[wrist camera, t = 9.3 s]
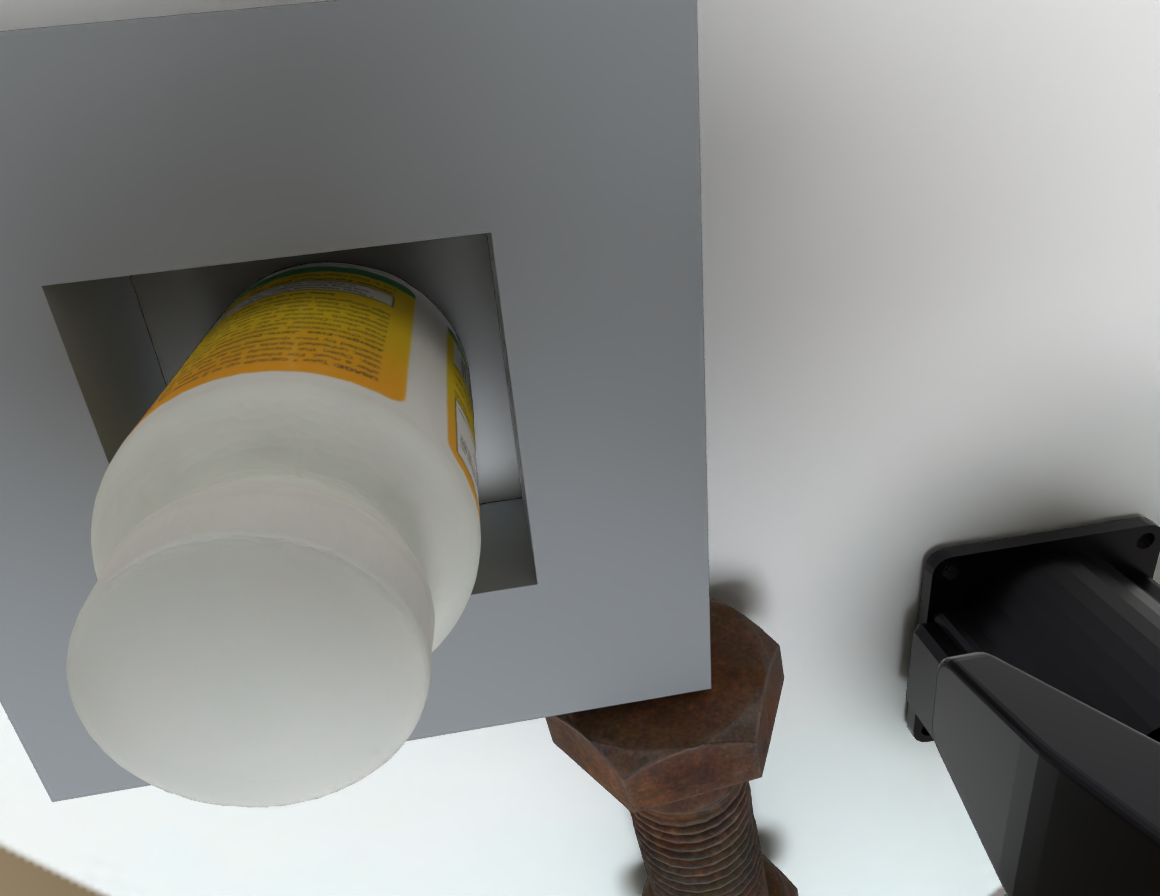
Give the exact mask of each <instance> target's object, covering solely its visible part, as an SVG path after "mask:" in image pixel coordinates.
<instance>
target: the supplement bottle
mask: <svg viewBox="0 0 1160 896" xmlns="http://www.w3.org/2000/svg"><path fill="white" fill-rule="evenodd" d="M91 548H92V557H93V563H94V568H95V572H96V576H97V579H98V580H97V582H96V584H95V586H94V587H93V589H92V591H91V593H90V594H89V596H88V598H87V600H86V601H85V603H84V605H83V607H82V608H81V610H80V612H79V614H78V617H77V619H76V622H75V625H74V628H73V631H72V634H71V638H70V641H69V647H68V654H67V662H66V675H67V682H68V688H69V694H70V697H71V700H72V702H73V705H74V708H75V710H76V712H77V714H78V716H79V718H80V720H81V722H82V724H83V725H84V727H85V729H86V730H87V732H88V734H89V735H90V736H91V737H92V739H93V740H94V741H95V742H96V743H97V744H98V745H99V747H100V748H101V749H102V750H103V751H104V752H105V753H106V754H107V755H108V756H109V757H110V758H112V759H113V760H114V761H115V762H116V763H117V764H118V765H120V766H121V767H122V768H124V769H125V770H127V771H128V772H130V773H131V774H133V775H135V776H136V777H138V778H140V779H142V780H143V781H145V782H147V783H149V784H151V785H153V786H155V787H157V788H160V789H162V790H164V791H166V792H169V793H172V794H176V795H179V796H182V797H185V798H188V799H191V800H194V801H199V802H204V803H209V804H216V805H224V806H240V807H271V806H284V805H290V804H295V803H299V802H304V801H308V800H314V799H318V798H321V797H323V796H325V795H328V794H331V793H334V792H337V791H339V790H341V789H343V788H345V787H347V786H350V785H352V784H354V783H356V782H357V781H359V780H361V779H363V778H364V777H366V776H367V775H369V774H370V773H372V772H373V771H375V770H376V769H378V768H379V767H381V766H382V765H383V764H385V763H386V762H387V761H388V760H389V759H390V758H391V757H392V756H393V755H394V754H395V753H396V752H397V751H398V750H399V749H400V748H401V747H402V745H403V744H404V743H405V742H406V740H407V739H408V738H409V737H410V735H411V734H412V732H413V730H414V729H415V727H416V725H417V723H418V721H419V720H420V717H421V715H422V712H423V709H424V707H425V704H426V701H427V697H428V694H429V688H430V680H431V666H432V652H433V651H434V650H435V649H436V648H437V647H438V646H439V645H440V644H441V643H442V641H443V640H444V639H445V638H446V637H447V635H448V634H449V633H450V631H451V630H452V629H453V627H454V626H455V624H456V623H457V621H458V620H459V618H460V616H461V614H462V613H463V611H464V609H465V607H466V604H467V602H468V600H469V597H470V595H471V593H472V590H473V587H474V584H475V581H476V576H477V571H478V565H479V558H480V549H481V528H480V508H479V494H478V477H477V464H476V449H475V433H474V413H473V402H472V394H471V384H470V375H469V369H468V364H467V361H466V357H465V353H464V350H463V348H462V346H461V343H460V341H459V339H458V337H457V335H456V333H455V331H454V329H453V328H452V326H451V324H450V323H449V322H448V320H447V319H446V318H445V316H444V315H443V314H442V312H441V311H440V310H439V309H438V308H437V307H436V306H435V305H434V304H433V303H432V302H431V301H430V300H429V299H428V298H427V297H426V296H425V295H423V294H422V293H421V292H419V291H418V290H417V289H415V288H414V287H412V286H411V285H409V284H408V283H406V282H404V281H403V280H401V279H399V278H397V277H395V276H393V275H391V274H388V273H386V272H383V271H380V270H376V269H373V268H368V267H363V266H360V265H352V264H345V263H329V262H322V263H309V264H304V265H298V266H294V267H290V268H287V269H283V270H281V271H278V272H276V273H273V274H271V275H269V276H267V277H265V278H263V279H262V280H260V281H258V282H256V283H255V284H253V285H252V286H251V287H249V288H248V289H247V290H245V291H244V292H243V293H242V294H241V295H240V296H239V297H238V298H236V300H235V301H234V302H233V303H232V304H231V305H230V306H229V307H228V308H227V310H226V311H225V313H224V314H223V315H222V316H221V317H220V318H219V319H218V321H217V322H216V323H215V324H214V326H213V327H212V328H211V329H210V331H209V332H208V333H207V334H206V335H205V337H204V338H203V339H202V341H201V342H200V344H199V345H198V346H197V347H196V348H195V350H194V351H193V352H192V354H191V355H190V356H189V358H188V359H187V360H186V362H185V363H184V364H183V366H182V367H181V368H180V370H179V371H178V372H177V374H176V375H175V376H174V377H173V379H172V380H171V381H170V383H169V384H168V386H167V387H166V388H165V389H164V391H163V392H162V393H161V394H160V396H159V397H158V398H157V400H156V401H155V402H154V404H153V405H152V406H151V407H150V409H149V410H148V411H147V413H146V414H145V415H144V416H143V418H142V419H141V420H140V421H139V423H138V424H137V425H136V426H135V428H134V429H133V430H132V431H131V433H130V434H129V435H128V437H127V438H126V439H125V440H124V442H123V443H122V445H121V446H120V448H119V450H118V451H117V453H116V454H115V456H114V457H113V459H112V461H111V462H110V464H109V466H108V468H107V470H106V472H105V474H104V476H103V479H102V482H101V484H100V487H99V490H98V493H97V496H96V499H95V504H94V509H93V515H92V525H91Z"/></svg>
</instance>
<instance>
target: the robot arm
mask: <svg viewBox="0 0 1160 896" xmlns="http://www.w3.org/2000/svg"><path fill="white" fill-rule="evenodd" d="M1159 552H1160V527H1159V526H1158V525H1156V524H1155V523H1154V522H1152V521H1151V520H1149V519H1147V518H1145V517H1138V518H1131V519H1125V520H1119V521H1113V522H1106V523H1100V524H1094V525H1088V526H1082V527H1075V528H1069V529H1063V530H1057V531H1051V532H1044V533H1038V534H1032V535H1026V536H1019V537H1013V538H1007V539H1001V540H995V541H988V542H982V543H976V544H970V545H963V546H957V547H951V548H945V549H942V550H939V551H937V552H935V553H934V554H932V555H931V556H930V557H929V559H928V560H927V561H926V564H925V568H924V576H923V585H922V594H921V602H920V611H919V619H918V625H917V627H916V629H915V631H914V633H913V639H912V648H911V656H910V665H909V674H908V683H907V691H906V700H907V702H908V703H909V705H908V713H907V727H908V729H909V730H910V732H911V733H912V735H913V736H914V737H915V739H916V740H918V741H921V742H929V741H935V743H936V746H937V749H938V751H939V753H940V755H941V757H942V759H943V762H944V764H945V766H946V768H947V770H948V772H949V774H950V776H951V778H952V781H953V783H954V785H955V787H956V789H957V791H958V793H959V795H960V797H961V800H962V802H963V804H964V806H965V808H966V810H967V812H968V814H969V816H970V819H971V821H972V823H973V825H974V827H975V829H976V831H977V833H978V835H979V838H980V840H981V842H982V844H983V846H984V848H985V850H986V852H987V854H988V857H989V859H990V861H991V863H992V865H993V867H994V869H995V871H996V873H997V876H998V878H999V880H1000V882H1001V884H1002V886H1003V887H1004V890H1005V891H1006V894H1005V895H1004V896H1160V585H1159V584H1158V583H1157V582H1155V581H1154V580H1153V579H1152V578H1153V575H1154V571H1155V567H1156V563H1157V559H1158V556H1159ZM949 565H951V566H950V568H948V569H947V570H946V571H944V572H942V571H943V570H944V569H945V568H946V567H947V566H949Z"/></svg>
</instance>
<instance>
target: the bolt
mask: <svg viewBox="0 0 1160 896" xmlns="http://www.w3.org/2000/svg"><path fill="white" fill-rule="evenodd" d="M709 606H710V654H711V689H706V690H700V691H694V692H689V693H683V694H677V695H671V696H665V697H660V698H654V699H648V700H642V701H636V702H631V703H625V704H619V705H613V706H607V707H601V708H596V709H590V710H584V711H578V712H572V713H567V714H561V715H555V716H549V717H545V718H546V721H547V724H548V727H549V730H550V734H551V737H552V740H553V742H554V743H555V744H556V745H557V746H558V747H559V748H560V749H561V750H563V751H564V752H565V753H566V754H567V755H568V756H569V757H570V758H571V759H573V760H574V761H575V762H576V763H577V764H578V765H579V766H580V767H582V768H583V769H584V770H585V771H586V772H587V773H588V774H589V775H590V776H592V777H593V778H594V779H595V780H596V781H597V782H598V783H599V784H601V785H602V786H603V787H604V788H605V789H606V790H607V791H608V792H609V793H611V794H612V795H613V796H614V797H615V798H616V799H617V800H618V801H619V802H621V803H622V804H623V805H624V806H625V807H626V808H627V809H628V810H629V811H630V813H631V816H632V819H633V826H634V829H635V834H636V836H637V840H638V843H639V847H640V850H641V854H642V858H643V860H644V864H645V867H646V871H647V874H648V879H647V881H646V884H645V886H644V889H643V893H642V896H798V890H797V888H796V887H795V886H794V885H793V883H792V882H791V881H790V880H789V879H788V878H787V877H786V876H785V875H784V874H783V873H782V872H781V871H780V870H779V869H778V868H777V867H776V866H775V865H774V864H773V863H772V862H771V861H770V860H768V859H767V858H766V857H765V856H764V855H763V854H762V852H761V849H760V843H759V836H758V830H757V826H756V821H755V818H754V815H753V808H752V798H751V789H750V785H749V781H750V780H753V779H757V778H760V777H762V774H763V770H764V766H765V761H766V757H767V753H768V748H769V744H770V740H771V735H772V731H773V726H774V722H775V717H776V713H777V708H778V704H779V699H780V695H781V690H782V686H783V681H784V674H783V667H782V660H781V652H780V645H778V644H777V643H776V642H775V641H774V640H773V639H772V638H771V637H770V636H769V635H768V634H766V633H765V632H764V631H763V630H762V629H761V628H760V627H759V626H757V625H756V624H755V623H753V622H752V621H751V620H749V619H748V618H747V617H745V616H744V615H743V614H741V613H739V612H738V611H736V610H734V609H733V608H731V607H729V606H727V605H725V604H723V603H721V602H718V601H715V600H712V599H709Z"/></svg>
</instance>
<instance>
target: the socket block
mask: <svg viewBox="0 0 1160 896" xmlns="http://www.w3.org/2000/svg"><path fill="white" fill-rule="evenodd" d="M483 233H487V237H488V244H489V252H490V259H491V267H492V274H493V281H494V289H495V296H496V304H497V311H498V319H499V326H500V334H501V341H502V349H503V356H504V363H505V371H506V378H507V386H508V393H509V401H510V408H511V416H512V423H513V431H514V438H515V446H516V453H517V460H518V468H519V475H520V483H521V490H522V498H521V499H514V500H507V501H500V502H494V503H487V504H480V505H479V508H480V528H481V549H480V558H479V565H478V571H477V576H476V581H475V584H474V587H473V590H472V593H471V595H470V597H469V600H468V602H467V604H466V607H465V609H464V611H463V613H462V614H461V616H460V618H459V620H458V621H457V623H456V624H455V626H454V627H453V629H452V630H451V631H450V633H449V634H448V635H447V637H446V638H445V639H444V640H443V641H442V643H441V644H440V645H439V646H438V647H437V648H436V649H435V650H434V651H433V652H432V666H431V680H430V688H429V694H428V697H427V701H426V704H425V707H424V709H423V712H422V715H421V717H420V720H419V721H418V723H417V725H416V727H415V729H414V730H413V732H412V734H411V735H410V737H409V738H408V739H407V740H406V741H410V740H416V739H421V738H427V737H433V736H439V735H445V734H450V733H456V732H462V731H468V730H474V729H480V728H485V727H491V726H497V725H503V724H509V723H514V722H520V721H526V720H532V719H538V718H543V717H549V716H555V715H561V714H567V713H572V712H578V711H584V710H590V709H596V708H601V707H607V706H613V705H619V704H625V703H631V702H636V701H642V700H648V699H654V698H660V697H665V696H671V695H677V694H683V693H689V692H694V691H700V690H706V689H711V654H710V606H709V559H708V511H707V464H706V416H705V369H704V321H703V274H702V226H701V179H700V131H699V84H698V36H697V0H334V1H323V2H312V3H302V4H291V5H280V6H269V7H258V8H248V9H237V10H226V11H215V12H204V13H193V14H183V15H172V16H161V17H150V18H139V19H129V20H118V21H107V22H96V23H85V24H74V25H64V26H53V27H42V28H31V29H20V30H9V31H0V702H1V704H2V706H3V708H4V710H5V712H6V714H7V716H8V718H9V720H10V721H11V723H12V725H13V727H14V729H15V731H16V733H17V735H18V737H19V739H20V741H21V743H22V745H23V747H24V748H25V750H26V752H27V754H28V756H29V758H30V760H31V762H32V764H33V766H34V768H35V770H36V772H37V774H38V775H39V777H40V779H41V781H42V783H43V785H44V787H45V789H46V791H47V793H48V795H49V797H50V799H51V801H52V802H56V801H61V800H67V799H73V798H79V797H85V796H90V795H96V794H102V793H108V792H114V791H119V790H125V789H131V788H137V787H143V786H148V785H151V784H149V783H147V782H145V781H143V780H142V779H140V778H138V777H136V776H135V775H133V774H131V773H130V772H128V771H127V770H125V769H124V768H122V767H121V766H120V765H118V764H117V763H116V762H115V761H114V760H113V759H112V758H110V757H109V756H108V755H107V754H106V753H105V752H104V751H103V750H102V749H101V748H100V747H99V745H98V744H97V743H96V742H95V741H94V740H93V739H92V737H91V736H90V735H89V734H88V732H87V730H86V729H85V727H84V725H83V724H82V722H81V720H80V718H79V716H78V714H77V712H76V710H75V708H74V705H73V702H72V700H71V697H70V694H69V688H68V682H67V675H66V662H67V654H68V647H69V641H70V638H71V634H72V631H73V628H74V625H75V622H76V619H77V617H78V614H79V612H80V610H81V608H82V607H83V605H84V603H85V601H86V600H87V598H88V596H89V594H90V593H91V591H92V589H93V587H94V586H95V584H96V582H97V580H98V579H97V576H96V572H95V568H94V563H93V557H92V548H91V525H92V515H93V509H94V504H95V499H96V496H97V493H98V490H99V487H100V484H101V482H102V479H103V476H104V474H105V472H106V470H107V468H108V466H109V464H110V462H111V461H112V459H113V457H114V456H115V454H116V453H117V451H118V450H119V448H120V446H121V445H122V443H123V442H124V440H125V439H126V438H127V437H128V435H129V434H130V433H131V431H132V430H133V429H134V428H135V426H136V425H137V424H138V423H139V421H140V420H141V419H142V418H143V416H144V415H145V414H146V413H147V411H148V410H149V409H150V407H151V406H152V405H153V404H154V402H155V401H156V400H157V398H158V397H159V396H160V394H161V393H162V392H163V391H164V389H165V388H166V384H165V381H164V378H163V375H162V372H161V369H160V366H159V363H158V360H157V357H156V354H155V351H154V348H153V345H152V342H151V339H150V336H149V333H148V330H147V327H146V324H145V321H144V318H143V315H142V312H141V308H140V305H139V302H138V299H137V296H136V293H135V290H134V287H133V284H132V281H131V278H130V275H138V274H147V273H155V272H164V271H172V270H180V269H189V268H197V267H206V266H214V265H222V264H231V263H239V262H248V261H256V260H264V259H273V258H281V257H290V256H298V255H306V254H315V253H323V252H332V251H340V250H348V249H357V248H365V247H374V246H382V245H390V244H399V243H407V242H416V241H424V240H433V239H441V238H449V237H458V236H466V235H475V234H483Z"/></svg>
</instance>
